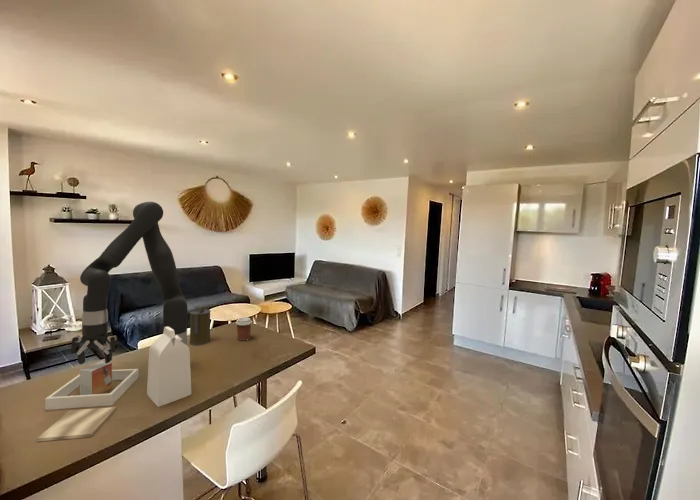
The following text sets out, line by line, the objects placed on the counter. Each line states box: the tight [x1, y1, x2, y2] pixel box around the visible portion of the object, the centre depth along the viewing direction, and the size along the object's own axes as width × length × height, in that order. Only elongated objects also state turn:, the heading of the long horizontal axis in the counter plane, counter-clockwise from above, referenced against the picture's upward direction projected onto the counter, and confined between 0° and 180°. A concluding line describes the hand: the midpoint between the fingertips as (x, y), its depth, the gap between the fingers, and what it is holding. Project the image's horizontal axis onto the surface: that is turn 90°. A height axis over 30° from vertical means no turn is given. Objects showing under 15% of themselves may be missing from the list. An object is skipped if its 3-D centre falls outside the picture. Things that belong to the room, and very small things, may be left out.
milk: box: [146, 327, 192, 408], centre depth 116 cm, size 12×12×26 cm
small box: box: [79, 360, 113, 395], centre depth 116 cm, size 8×6×10 cm
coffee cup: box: [235, 316, 253, 341], centre depth 175 cm, size 9×9×12 cm
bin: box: [44, 368, 139, 411], centre depth 116 cm, size 20×20×4 cm
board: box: [36, 406, 118, 443], centre depth 98 cm, size 14×14×1 cm
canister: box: [189, 305, 211, 346], centre depth 168 cm, size 11×10×20 cm
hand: (95, 363), depth 115 cm, fingers open, 8 cm apart
